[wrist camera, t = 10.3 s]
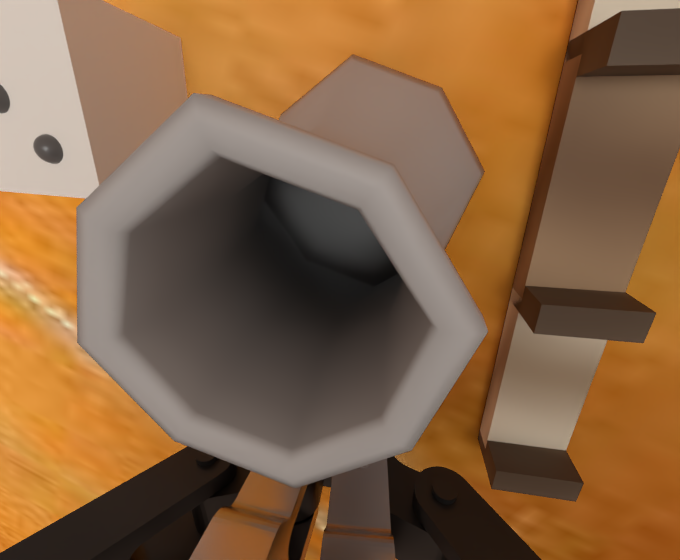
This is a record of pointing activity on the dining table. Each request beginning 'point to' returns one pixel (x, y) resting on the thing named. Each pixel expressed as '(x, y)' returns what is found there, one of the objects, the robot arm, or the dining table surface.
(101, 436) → the dining table surface
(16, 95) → the die
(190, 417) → the flask
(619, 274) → the strip
